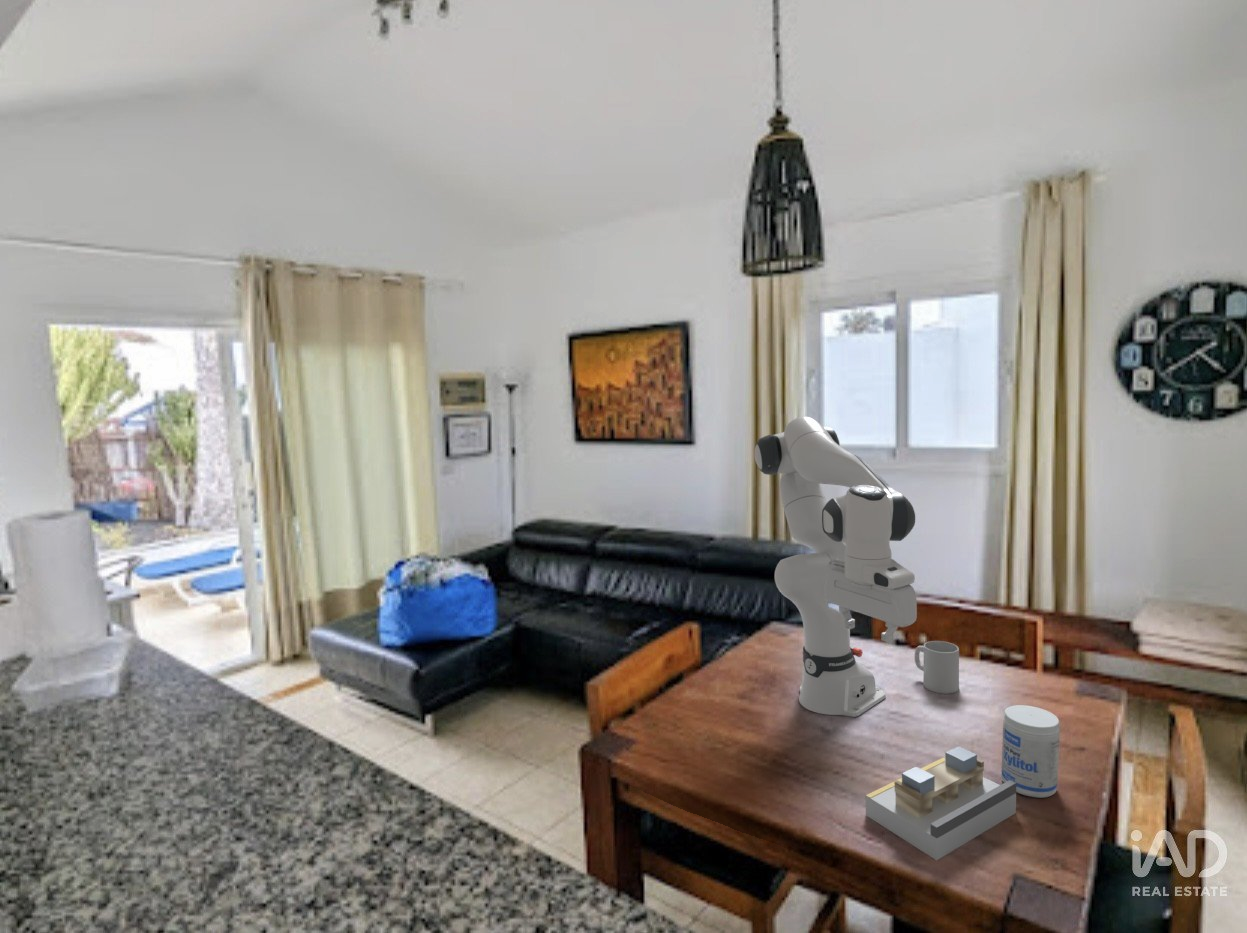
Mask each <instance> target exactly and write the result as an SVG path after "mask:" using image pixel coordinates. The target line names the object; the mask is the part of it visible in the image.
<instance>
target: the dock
mask: <svg viewBox="0 0 1247 933" xmlns="http://www.w3.org/2000/svg"><path fill="white" fill-rule="evenodd" d="M944 762H945V757H941V758H940V759H937V760H935V761H933V762H931V763H929V764H927V765H925V766H923V767H921V768H920V769H922V770H924V771H928V770H930V769H932V768H934V767H936V766H938V765H940V764H942V763H944ZM897 780H898V781H900V782H901V783H902V777H900V778H898V779H896V780H894V781H892V782H890V783H888V784H887V785H884V786H881V787H879V788H878V789H876V790H873V791H872V792H870V793H867V794H866V795H865V816H866V817H867V818H869V819H871V820H873V821H875V822H876V823H878V824H879V825H881V826H882V827H884V828H885V829H887V831H890V832H891V833H893V834H894V835H896V836H898V837H900V838H901V839H902V840H904V841H906V842H907V843H908V844H910V845H911V846H914V847H915V848H917V849H918V850H920V851H921V852H923V853H924V854H926V855H928V856H929V857H930V858H931V859H932V858H933V860H935V861H938V860H940V859H942V858H944V857H946V856H947V855H948V854H950V853H952V852H954V851H956V850H957V849H958V848H960V847H962V846H963V845H965V844H967V843H968V842H970V841H972V840H973V839H976V838H977V837H979V836H980V835H982V834H984V833H985V832H987V831H988V830H990V829H992V828H993V827H995V826H997V825H999V824H1000V823H1001V822H1004V821H1005V820H1007V819H1008V818H1011V816H1013V815H1015V814H1016V813H1017V792H1016V782H1013V781H1011V780H1009V781H1007V782H1005V783H1004V782H1003V783H1002V784H999V783H996V782H994V781H992V780H990V779H988V778H986V777H984V776H983V784H982V785H980V786H978V787H977V788H975V789H973V790H970V789H968V788H966V787H964V786H962V785H960V784H958V798H956V799H954V800H952V801H951V802H949V803H947V804H945V803H944V802H942V801H940V800H938V799H936V798H935V797H933V798H932V812H930V813H928V814H927V815H925V816H923V817H921V818H918V817H916V816H914V815H913V814H911V813H909V812H908V811H906V810H904V809H903V808H901V807H899V806H898V805H896V792H895V781H897Z"/></svg>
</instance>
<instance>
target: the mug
mask: <svg viewBox="0 0 1247 933" xmlns="http://www.w3.org/2000/svg"><path fill="white" fill-rule="evenodd" d="M920 652H922V653H923V664H922V662H921V659H920V654H921V653H920ZM914 663H915V666H916V668H917V669H919V670H920V671H922V672H923V679H922V680H923V681H922V682H923V686H924V688H925V689H927V690H928V691H930V692H933V693H938V694H942V695H943V694H944V695H945V694H946V695H948V694H956V693H957V692H958V691H959V689H960V649H959V646H957V645H956V644H954V643H951V642H948V641H941V640H931V641H927V642H925V643H924V644H923V645H918V646H917V647H915V651H914Z"/></svg>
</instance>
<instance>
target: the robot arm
mask: <svg viewBox="0 0 1247 933" xmlns="http://www.w3.org/2000/svg"><path fill="white" fill-rule="evenodd" d="M754 447H755V448H754V451H753V452H754V460H755V464H756V465H757V467H758V469H759V471H760V472H762V473H763V474H765V475H766V476H767V475H768V476H769V475H770V476H774V475H775V476H776V475H777V474H782V475H781V477H780V479H779V489H780V498H781V502H782V503H781V504H782V506H783V511H784V514H785V518H786V522H787V525H788V528H789V532H790V535H791V538H793V540H794V541H795V542H797V543H798V544H800V545H803V546H805V547H808V548H810V549H811V550H812V551H813V552H812V553H811V552H810V553H801V554H796V555H792V556H789V557H785V558H783V559H780V560H779V562H778V563H777V564H776V567H775V570H774V583H775V586H776V588H777V589H778V591H779V592H780V593H781V595H783V597H785V598H787V599H788V600H790V601H791V602H792V604H794V605H795V606H796V608H797V610H798V611H799V613H800V616H801V620H802V625H803V626H802V627H803V638H804V639H803V640H804V646H803V647H802V662H803V667H802V675H801V676H802V677H801V685H800V686H799V697H798V701H799V703H800V705H801V706H802V707H803V708H805V709H807V710H808V711H810V712H814V713H816V714H817V713H818V714H821V715H826V716H827V715H829V716H846V717H853V718H854V717H855V718H856V717H858V716H860V715H862V714H863V713H864V712H866V711H868V710H869V709H871V708H872V707H874V706H875V705H877V704H878V703H880V702H881V701H883V700H885V699H886V696H887V695H886V693H885V691H884V690H882V689H881V688H880V687H878V686H876V678H875V676H874V674H873V673H872V671H871V670H870V669H868V668H867V667H865V666H863V665H862V664H861V663H859V662H858V661H856V658H855V656H856V657H857V658H861V657H863V656H862V655H863V650H862V649H861V648H858V647H853V648H852V647H851V637H850V636H851V631H850V630H852V629H855V627H856V619H855V618H853V616H852V614H851V611H853V612H856V613H859V614H861V615H865V616H868V617H871V618H874V619H876V620H880V621H882V622H885V627H886V628H887V629H886V631H885V632H884V631H883V632H881V633H880V636H881V638H880V640H881V642H883V643H886V644H892V643H893V642H894V634H895V633H896V631H897V630H898V628H899V627H900V628H906V627H908V626H911V625H913V624H914V623H915V622H916V621H917V618H918V616H917V615H918V612H917V611H918V606H917V594H916V590H915V589H914V587H913V586H912V584H913V583H915V574H914V573H913V572H912V571H911V570H909V569H907V568H906V567H904V566H903V565H902V564H900V563H899V562H898V561H896V560H895V559H893V558H892V550H891V546H890V542H900V541H902V540H904V539H905V538H906V537H907V536H908V535H909V534H910V533H911V531H912V530H913V528H914V526H915V524H916V512H915V509H914V507H913V505H912V503H911V501H909V500H908V498H906V496H905V495H903V494H902V493H901V492H899V491H897V490H896V489H894V488H892V486H891V485H889V483H888V482H886V481H885V480H884V479H883V477H882V476H880V474H879V473H877V471H876V470H875V469H873V467H871V466H870V465H869V464H868V462H866V461H865V460H864V459H863V458H861V457H859V456H858V455H856V454H853V453H851V452H849V451H848V450H846V449H845V448H843V447H842V446H841V444H840V440H839V437H838V434H837V433H836V431H835V430H834V429H833V428H832V427H830V426H824V425H822V424H821V423H820V422H819V421H817V420H816V419H814V418H812V417H810V416H799V417H796V418H794V419H792V420H790V422H788V423H787V425H786V426H785V428H784V431H783V432H779V433H775V434H768V435H764V436H763V437H760V438H759V439H758V440H757V441H756V443H755V446H754ZM821 485H832V486H841V487H846V488H848V489H847V490H846V493H845V494H844V495H840V496H838V497H834V498H831V499H830V500H828V501H827V500H826V497H825V494H824V491H823V489H822V486H821ZM829 603H830V604H832V605H836V606H838V609H836V608H834V607H831V606H829Z"/></svg>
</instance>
